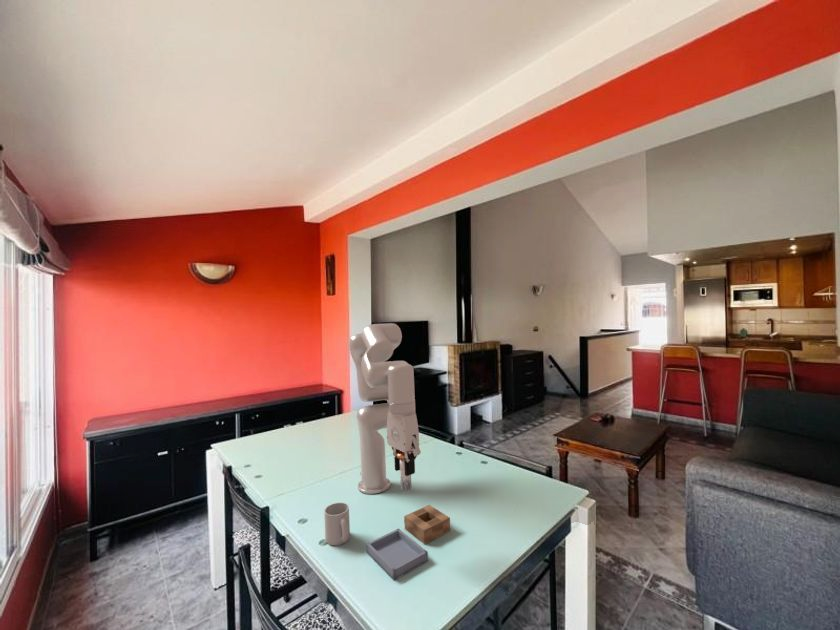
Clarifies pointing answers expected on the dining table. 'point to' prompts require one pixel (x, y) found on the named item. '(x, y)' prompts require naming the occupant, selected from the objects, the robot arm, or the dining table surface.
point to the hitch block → (427, 524)
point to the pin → (405, 480)
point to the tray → (396, 553)
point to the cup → (337, 523)
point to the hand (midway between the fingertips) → (404, 471)
